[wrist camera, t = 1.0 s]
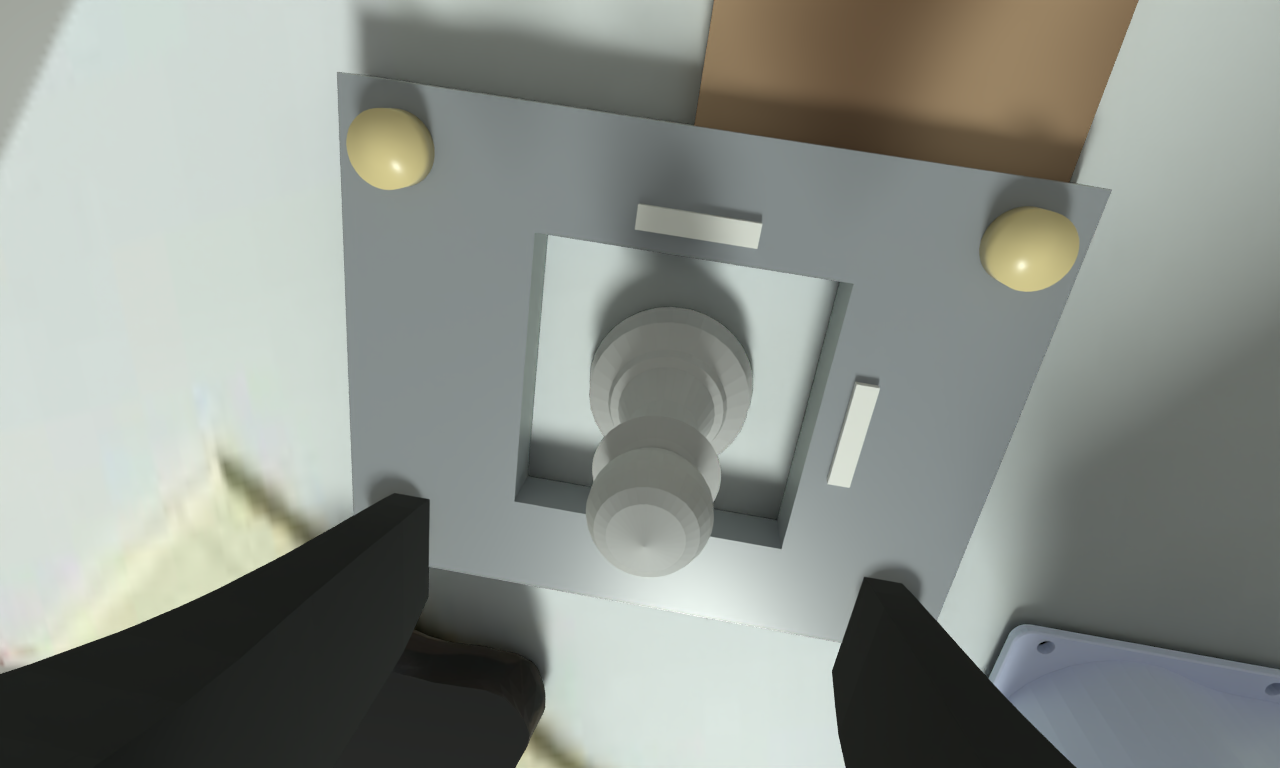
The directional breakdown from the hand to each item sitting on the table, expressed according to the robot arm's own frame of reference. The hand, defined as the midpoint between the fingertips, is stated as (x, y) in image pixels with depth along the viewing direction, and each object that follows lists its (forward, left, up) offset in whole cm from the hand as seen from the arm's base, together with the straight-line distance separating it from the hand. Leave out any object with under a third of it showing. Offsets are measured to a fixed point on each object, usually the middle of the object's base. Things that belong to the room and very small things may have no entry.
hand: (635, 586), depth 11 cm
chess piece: (0, 0, -9) cm, 9 cm away
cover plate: (0, 0, -9) cm, 9 cm away
